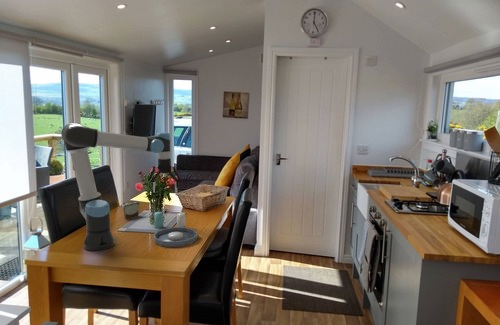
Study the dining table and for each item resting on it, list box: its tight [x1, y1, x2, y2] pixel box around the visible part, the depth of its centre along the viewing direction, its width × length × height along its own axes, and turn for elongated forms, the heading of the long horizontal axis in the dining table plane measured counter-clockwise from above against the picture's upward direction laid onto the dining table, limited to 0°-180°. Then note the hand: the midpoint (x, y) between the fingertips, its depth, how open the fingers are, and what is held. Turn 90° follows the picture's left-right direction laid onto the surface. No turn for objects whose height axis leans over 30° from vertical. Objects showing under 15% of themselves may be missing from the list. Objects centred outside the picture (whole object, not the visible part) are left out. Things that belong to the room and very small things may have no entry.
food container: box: [121, 200, 141, 220], centre depth 250 cm, size 12×6×10 cm, turn 141°
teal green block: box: [154, 211, 164, 229], centre depth 231 cm, size 5×5×9 cm
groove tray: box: [152, 226, 199, 248], centre depth 212 cm, size 24×24×3 cm
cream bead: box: [176, 212, 186, 228], centre depth 230 cm, size 5×5×9 cm
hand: (165, 192), depth 232 cm, fingers open, 13 cm apart
